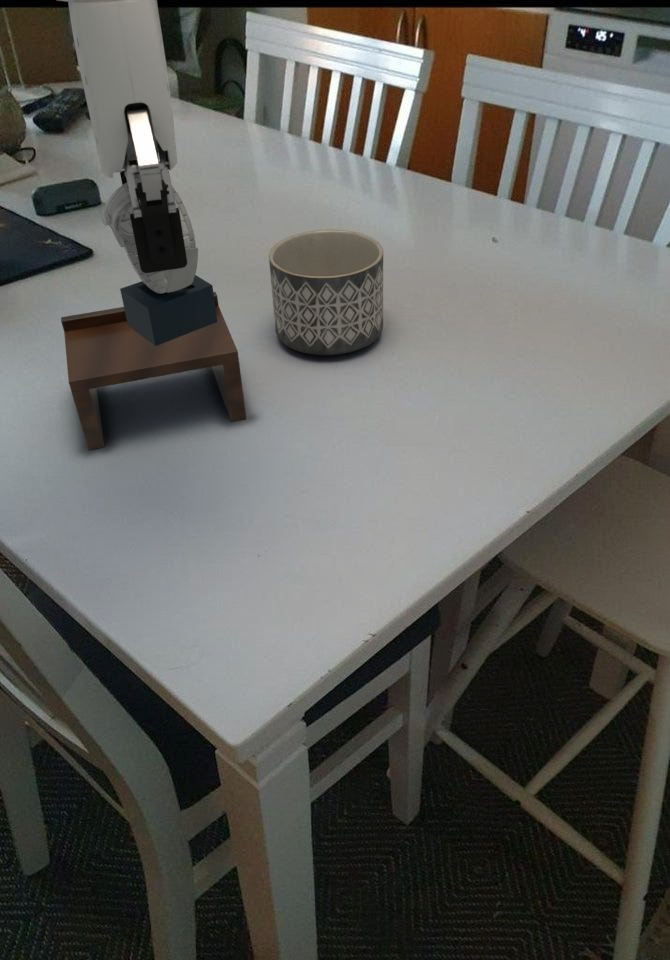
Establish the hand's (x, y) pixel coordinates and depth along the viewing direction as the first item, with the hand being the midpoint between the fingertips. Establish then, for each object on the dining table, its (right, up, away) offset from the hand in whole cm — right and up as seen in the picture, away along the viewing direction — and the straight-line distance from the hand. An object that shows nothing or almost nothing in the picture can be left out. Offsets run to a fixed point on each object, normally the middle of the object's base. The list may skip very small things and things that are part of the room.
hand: (157, 243), depth 59 cm
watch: (0, -5, +4) cm, 7 cm away
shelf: (-5, -9, +27) cm, 29 cm away
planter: (+12, 0, +37) cm, 39 cm away
